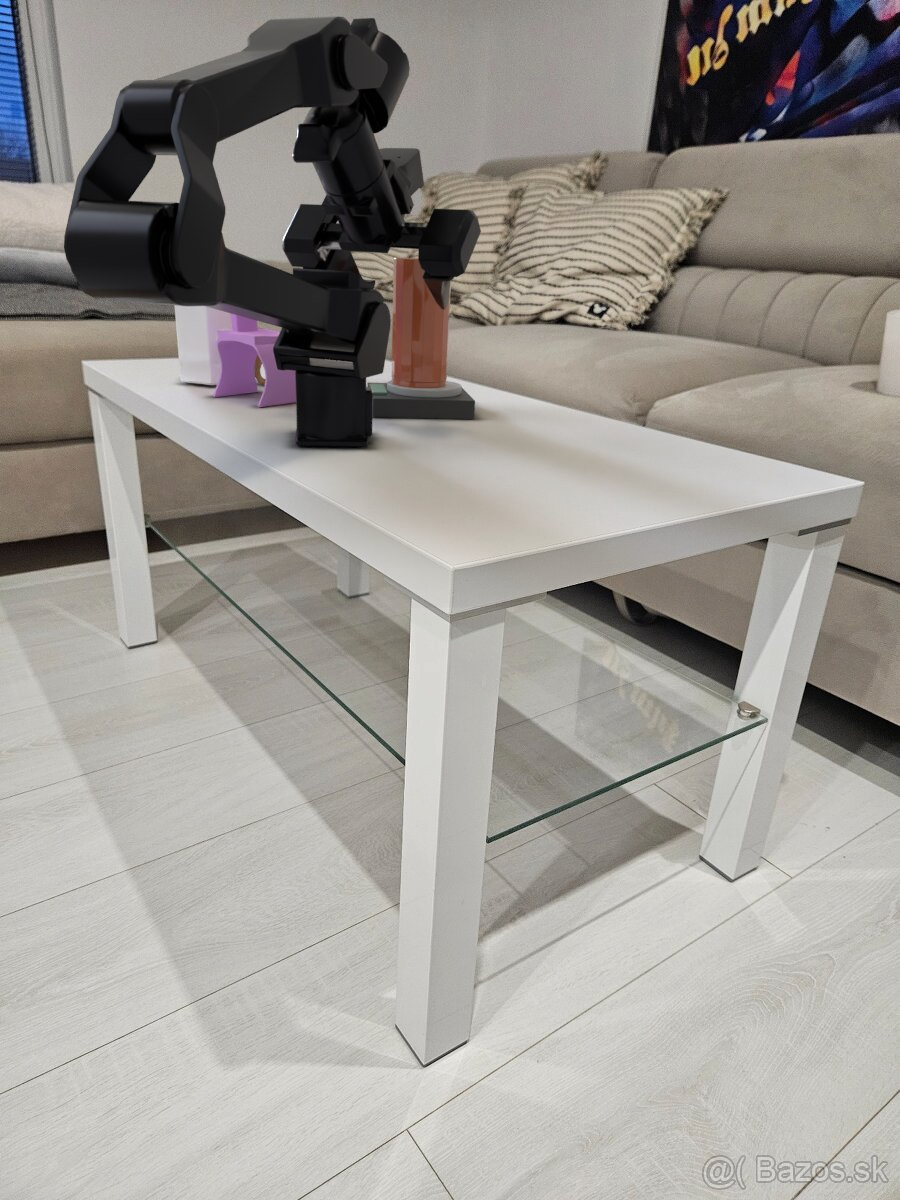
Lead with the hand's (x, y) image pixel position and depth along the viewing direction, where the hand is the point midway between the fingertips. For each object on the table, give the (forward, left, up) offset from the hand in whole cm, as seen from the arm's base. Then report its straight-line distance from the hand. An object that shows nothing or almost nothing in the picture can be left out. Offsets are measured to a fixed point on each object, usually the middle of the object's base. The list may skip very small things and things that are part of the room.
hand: (404, 302), depth 85 cm
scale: (+2, +4, -12) cm, 12 cm away
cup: (+2, +4, -9) cm, 10 cm away
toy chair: (-16, +8, -12) cm, 21 cm away
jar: (-22, +20, -11) cm, 32 cm away
